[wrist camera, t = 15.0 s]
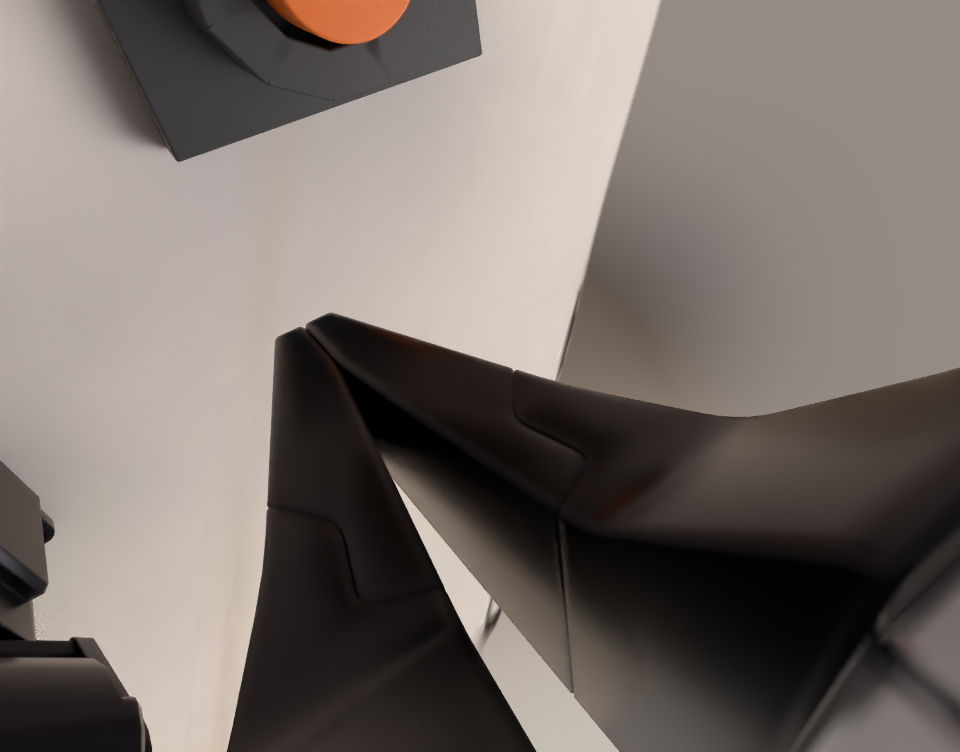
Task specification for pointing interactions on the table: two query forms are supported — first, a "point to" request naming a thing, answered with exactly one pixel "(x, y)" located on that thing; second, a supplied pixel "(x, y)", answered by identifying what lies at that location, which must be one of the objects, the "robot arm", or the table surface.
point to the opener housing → (268, 63)
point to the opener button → (342, 17)
